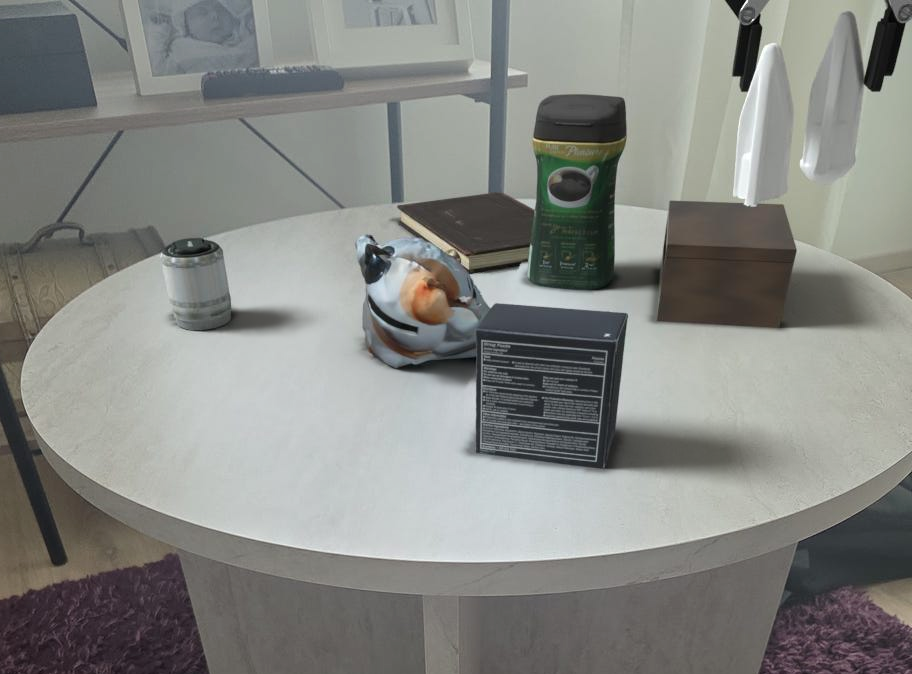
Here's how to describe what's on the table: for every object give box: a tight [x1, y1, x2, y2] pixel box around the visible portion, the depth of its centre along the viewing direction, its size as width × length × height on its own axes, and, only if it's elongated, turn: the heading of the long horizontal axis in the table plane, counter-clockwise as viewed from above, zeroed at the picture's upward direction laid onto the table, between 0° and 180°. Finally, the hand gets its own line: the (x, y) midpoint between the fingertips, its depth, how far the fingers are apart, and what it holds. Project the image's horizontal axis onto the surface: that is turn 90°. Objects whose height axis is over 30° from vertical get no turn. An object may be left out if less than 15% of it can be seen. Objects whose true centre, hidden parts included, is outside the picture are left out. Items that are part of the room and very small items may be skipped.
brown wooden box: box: [656, 200, 798, 329], centre depth 96 cm, size 12×16×8 cm
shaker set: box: [732, 10, 865, 207], centre depth 66 cm, size 12×4×11 cm, turn 119°
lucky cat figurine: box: [354, 233, 491, 369], centre depth 84 cm, size 15×12×14 cm
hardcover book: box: [396, 191, 535, 274], centre depth 117 cm, size 16×23×2 cm
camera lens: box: [159, 237, 232, 331], centre depth 94 cm, size 6×6×8 cm
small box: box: [474, 302, 629, 470], centre depth 70 cm, size 11×6×10 cm, turn 73°
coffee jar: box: [527, 93, 628, 291], centre depth 98 cm, size 10×8×19 cm
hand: (807, 87), depth 65 cm, fingers closed on shaker set, 8 cm apart
